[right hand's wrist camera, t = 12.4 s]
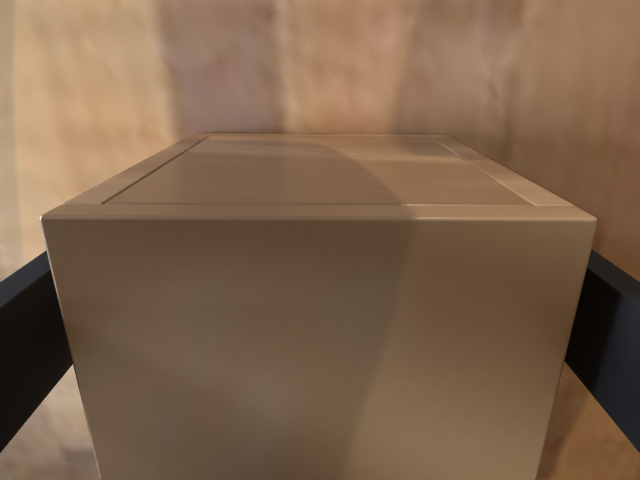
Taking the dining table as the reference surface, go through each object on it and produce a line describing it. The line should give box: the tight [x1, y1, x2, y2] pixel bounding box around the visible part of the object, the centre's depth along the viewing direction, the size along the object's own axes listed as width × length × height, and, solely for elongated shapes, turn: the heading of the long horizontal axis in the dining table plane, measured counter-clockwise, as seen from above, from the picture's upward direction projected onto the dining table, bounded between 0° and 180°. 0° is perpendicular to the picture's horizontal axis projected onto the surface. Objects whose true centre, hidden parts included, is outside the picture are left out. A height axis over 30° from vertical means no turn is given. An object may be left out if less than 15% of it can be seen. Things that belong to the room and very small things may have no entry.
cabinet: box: [39, 133, 598, 480], centre depth 18 cm, size 20×11×12 cm, turn 0°
